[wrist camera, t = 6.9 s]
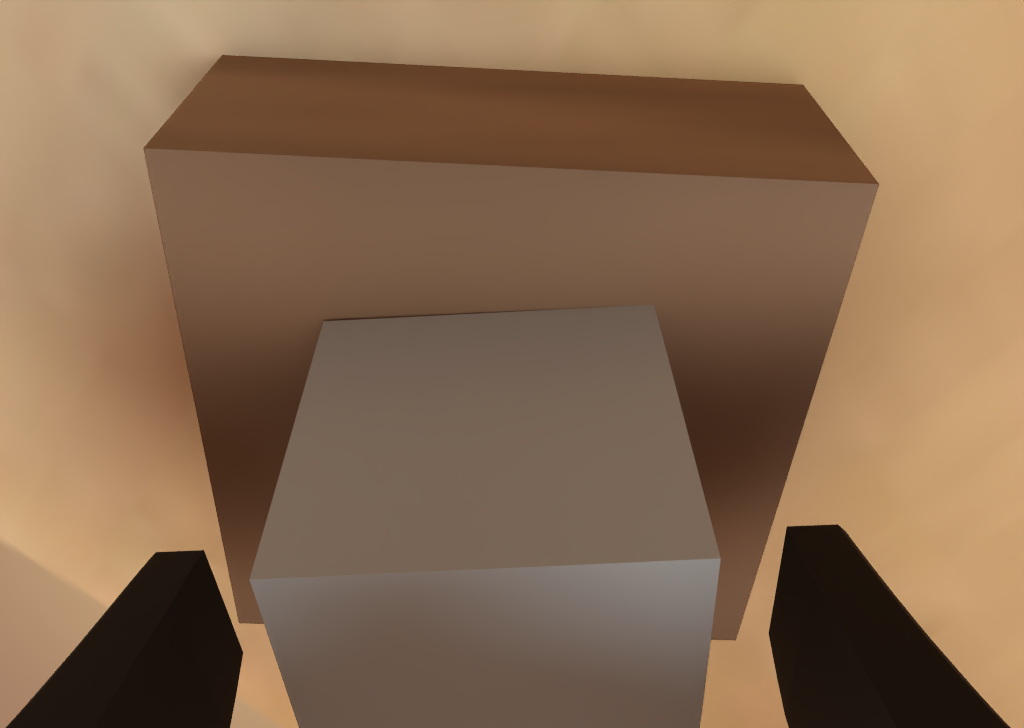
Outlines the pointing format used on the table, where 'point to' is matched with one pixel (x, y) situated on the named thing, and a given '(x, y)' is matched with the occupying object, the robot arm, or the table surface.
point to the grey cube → (490, 528)
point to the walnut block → (507, 249)
